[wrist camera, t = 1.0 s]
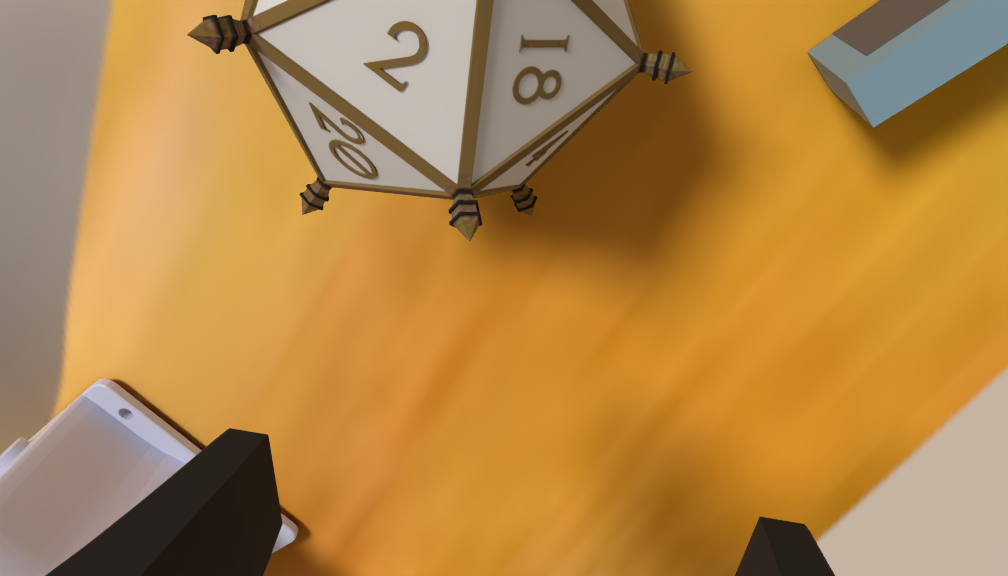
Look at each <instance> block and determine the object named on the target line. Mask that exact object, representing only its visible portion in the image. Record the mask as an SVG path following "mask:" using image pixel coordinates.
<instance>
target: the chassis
mask: <svg viewBox="0 0 1008 576" xmlns="http://www.w3.org/2000/svg"><path fill="white" fill-rule="evenodd" d="M1007 44H1008V0H880V1H878V2H877V3H876V4H874V5H873V6H871V7H870V8H868V9H867V10H866V11H864V12H863V13H861V14H860V15H858V16H857V17H856V18H854V19H853V20H851V21H850V22H848V23H847V24H845V25H844V26H843V27H841V28H840V29H838V30H837V31H835V32H834V33H833V35H831V36H830V37H828V38H827V39H825V40H824V41H822V42H821V43H820V44H818V45H817V46H815V47H814V48H812V49H811V50H810V51H808V54H809V56H810V57H811V59H812V60H813V62H814V64H815V65H816V67H817V68H818V70H819V72H820V73H821V75H822V77H823V78H824V80H825V81H826V83H827V85H828V86H829V88H830V89H831V91H832V92H833V93H834V94H836V95H837V96H838V97H839V98H840V99H841V100H842V101H844V102H845V103H846V104H847V105H848V106H849V107H850V108H852V109H853V110H854V111H855V112H856V113H857V114H858V115H859V116H861V117H862V118H863V119H864V120H865V121H866V122H867V123H869V124H870V125H871V126H872V127H873V128H874V127H875V126H877V125H879V124H880V123H882V122H883V121H885V120H887V119H888V118H890V117H891V116H893V115H895V114H896V113H898V112H899V111H901V110H903V109H904V108H906V107H907V106H909V105H911V104H912V103H914V102H915V101H917V100H919V99H920V98H922V97H923V96H925V95H927V94H928V93H930V92H931V91H933V90H935V89H936V88H938V87H939V86H941V85H943V84H944V83H946V82H947V81H949V80H951V79H952V78H954V77H955V76H957V75H959V74H960V73H962V72H963V71H965V70H967V69H968V68H970V67H971V66H973V65H975V64H976V63H978V62H979V61H981V60H983V59H984V58H986V57H987V56H989V55H991V54H992V53H994V52H995V51H997V50H999V49H1000V48H1002V47H1003V46H1005V45H1007Z"/></svg>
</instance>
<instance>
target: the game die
mask: <svg viewBox="0 0 1008 576" xmlns="http://www.w3.org/2000/svg"><path fill="white" fill-rule="evenodd" d="M187 35H188V36H190V37H192V38H194V39H196V40H197V41H199V42H201V43H203V44H205V45H207V46H208V47H210V48H211V49H212V50H213V51H214V52H215V53H216V54H219V53H220V50H223V49H228V50H229V51H230V52H233V51H234V49H235V47H236V46H238V45H240V44H245V45H246V47H247V49H248V50H249V52H250V54H251V56H252V58H253V59H254V61H255V63H256V65H257V67H258V69H259V70H260V72H261V74H262V76H263V78H264V79H265V81H266V83H267V85H268V87H269V88H270V90H271V92H272V94H273V96H274V98H275V99H276V101H277V103H278V105H279V107H280V108H281V110H282V112H283V114H284V116H285V118H286V119H287V121H288V123H289V125H290V127H291V128H292V130H293V132H294V134H295V136H296V138H297V139H298V141H299V143H300V145H301V147H302V148H303V150H304V152H305V154H306V156H307V157H308V159H309V161H310V163H311V165H312V167H313V168H314V170H315V172H316V174H317V176H318V177H317V180H316V181H315V182H314V183H312V184H307V186H306V187H307V189H306V191H305V192H303V193H300V194H299V195H300V196H301V197H302V214H303V215H304V214H307V213H310V212H312V211H315V210H318V209H320V210H323V204H324V202H325V201H327V202H328V200H329V196H328V194H329V190H330V189H331V188H332V187H335V188H345V189H355V190H364V191H374V192H384V193H394V194H404V195H413V196H423V197H433V198H443V199H452V200H454V201H453V205H452V207H451V208H450V209H449V213H450V214H452V220H451V221H450V222H449V225H451V226H453V227H455V228H457V229H458V230H459V231H460V232H461V233H462V234H463V235H464V236H465V237H466V238H467V239H468V240H469V241H470V240H471V239H472V237H473V235H474V233H475V232H476V230H477V228H478V226H481V225H482V221H481V215H480V212H479V207H478V201H477V200H474V199H473V198H476V197H481V196H486V195H491V194H496V193H501V192H506V191H510V190H512V195H511V197H512V199H513V201H514V202H515V203H514V205H515V207H516V208H517V210H518V212H521V211H522V212H524V213H526V214H528V215H530V216H532V213H533V208H534V204H535V202H536V200H537V196H533V194H532V192H533V189H532V188H528V187H527V186H526V185H525V183H526V182H527V181H528V180H529V179H530V178H531V177H532V176H533V175H534V174H535V173H536V172H537V171H538V170H539V169H540V168H541V167H542V166H543V165H544V164H546V163H547V162H548V161H549V160H550V159H551V158H552V157H553V156H554V155H555V154H556V153H557V152H558V151H559V150H560V149H561V148H562V147H563V146H564V145H565V144H566V143H567V142H568V141H569V140H570V139H571V138H572V137H573V136H574V135H575V134H576V133H577V132H578V131H579V130H580V129H581V128H582V127H583V126H585V125H586V124H587V123H588V122H589V121H590V120H591V119H592V118H593V117H594V116H595V115H596V114H597V113H598V112H599V111H600V110H601V109H602V108H603V107H604V106H605V105H606V104H607V103H608V102H609V101H610V100H611V99H612V98H613V97H614V96H615V95H616V94H617V93H618V92H619V91H620V90H621V89H622V88H623V87H625V86H626V85H627V84H628V83H629V82H630V81H631V80H632V79H633V78H634V77H635V76H636V75H637V74H638V73H639V72H645V73H646V74H648V75H650V76H651V77H652V80H654V81H655V79H656V78H657V79H661V80H665V83H664V84H667V83H668V81H670V80H672V79H675V78H677V77H680V76H683V75H685V74H688V73H690V72H692V71H691V70H690V69H689V68H687V67H686V66H685V65H684V64H683V63H682V62H681V61H680V60H679V59H678V58H677V57H676V56H675V53H674V52H672V55H669V54H662V51H659V52H658V53H653V54H647V53H644V51H643V48H642V44H641V41H640V38H639V34H638V31H637V28H636V25H635V21H634V18H633V15H632V11H631V8H630V5H629V1H628V0H245V4H244V8H243V12H242V16H241V20H240V21H238V20H235V19H232V16H231V15H227V16H223V17H219V18H217V15H211V16H207V17H203V22H202V23H201V24H199V25H198V26H197V27H196V28H194V29H193V30H192V31H191V32H190V33H188V34H187Z"/></svg>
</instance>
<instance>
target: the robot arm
mask: <svg viewBox="0 0 1008 576" xmlns="http://www.w3.org/2000/svg"><path fill="white" fill-rule="evenodd" d="M129 410H130V411H129ZM297 534H298V528H297V526H296V525H295V524H294V523H293V522H292V521H291V520H289V519H288V518H287V517H286V516H284V515H283V514H282V513H281V510H280V504H279V498H278V492H277V486H276V480H275V474H274V467H273V461H272V455H271V449H270V443H269V437H268V435H266V434H260V433H254V432H248V431H242V430H236V429H230V428H229V429H228V430H227V431H225V432H224V433H223V434H221V435H220V436H219V437H218V438H216V439H215V440H214V441H213V442H212V443H210V444H209V445H208V446H207V447H206V448H204V449H203V450H200V449H199V448H198V447H197V446H195V445H194V444H193V443H192V442H190V441H189V440H188V439H186V438H185V437H184V436H183V435H181V434H180V433H179V432H178V431H176V430H175V429H174V428H172V427H171V426H170V425H169V424H167V423H166V422H165V421H164V420H162V419H161V418H160V417H158V416H157V415H156V414H155V413H153V412H152V411H151V410H150V409H148V408H147V407H146V406H144V405H143V404H142V403H141V402H139V401H138V400H137V399H136V398H134V397H133V396H132V395H131V394H129V393H128V392H127V391H125V390H124V389H123V388H122V387H120V386H119V385H118V384H117V383H115V382H113V381H112V380H108V379H99V380H97V381H96V382H95V383H94V384H92V385H91V386H90V387H89V388H88V389H87V390H86V391H84V392H83V393H82V394H81V395H80V396H79V397H78V398H76V399H75V400H74V401H73V402H72V403H71V404H70V405H68V406H67V407H66V408H65V409H64V410H63V411H62V412H60V413H59V414H58V415H57V416H56V417H55V418H54V419H52V420H51V421H50V422H49V423H48V424H47V425H46V426H44V427H43V428H42V429H41V430H40V431H39V432H38V433H36V434H35V435H34V436H33V437H32V438H31V439H30V440H29V441H27V440H26V439H24V438H23V437H20V438H19V439H18V440H16V441H15V442H14V443H13V444H12V445H11V446H10V447H9V448H8V449H7V450H5V451H4V452H3V453H2V454H1V455H0V576H263V574H264V571H265V569H266V566H267V564H268V561H269V559H270V556H271V554H272V553H274V552H276V551H277V550H279V549H281V548H283V547H284V546H286V545H288V544H290V543H291V542H293V541H294V540H295V538H296V536H297ZM735 576H835V575H834V573H833V571H832V570H831V568H830V566H829V564H828V563H827V561H826V559H825V557H824V556H823V554H822V552H821V550H820V549H819V547H818V545H817V543H816V541H815V540H814V538H813V536H812V534H811V532H810V531H809V530H808V528H807V527H806V526H805V524H801V523H795V522H789V521H783V520H777V519H771V518H765V517H759V520H758V522H757V525H756V527H755V529H754V532H753V534H752V537H751V539H750V541H749V544H748V546H747V549H746V551H745V553H744V556H743V558H742V560H741V563H740V565H739V568H738V570H737V572H736V575H735Z"/></svg>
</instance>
